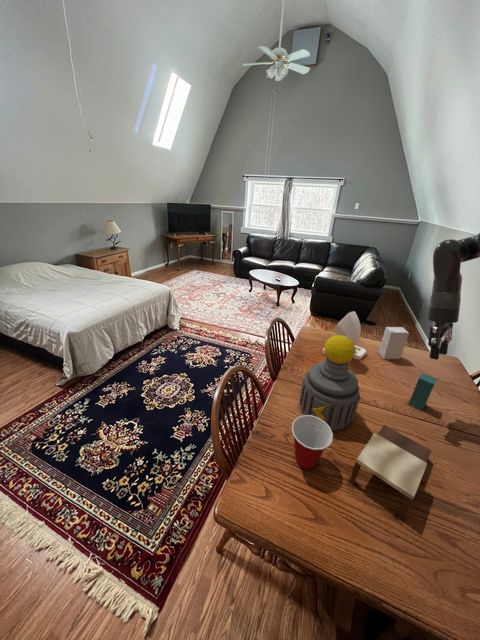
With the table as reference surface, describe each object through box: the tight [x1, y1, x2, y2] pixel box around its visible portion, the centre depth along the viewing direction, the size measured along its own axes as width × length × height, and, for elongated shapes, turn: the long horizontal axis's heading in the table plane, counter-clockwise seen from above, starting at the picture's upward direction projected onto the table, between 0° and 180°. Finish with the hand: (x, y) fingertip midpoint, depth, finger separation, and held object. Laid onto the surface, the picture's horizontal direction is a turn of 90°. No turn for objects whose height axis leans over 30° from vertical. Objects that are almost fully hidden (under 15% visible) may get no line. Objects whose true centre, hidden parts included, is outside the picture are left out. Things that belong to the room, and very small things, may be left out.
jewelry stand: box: [321, 311, 367, 361], centre depth 124 cm, size 25×16×25 cm, turn 136°
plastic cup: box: [291, 414, 334, 470], centre depth 74 cm, size 11×11×12 cm
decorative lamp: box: [299, 334, 361, 431], centre depth 88 cm, size 19×19×30 cm
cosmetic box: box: [378, 326, 410, 360], centre depth 127 cm, size 8×6×15 cm
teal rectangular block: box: [408, 372, 437, 411], centre depth 97 cm, size 5×5×12 cm
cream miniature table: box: [349, 424, 432, 521], centre depth 73 cm, size 13×24×9 cm, turn 135°
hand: (438, 356), depth 86 cm, fingers open, 8 cm apart
